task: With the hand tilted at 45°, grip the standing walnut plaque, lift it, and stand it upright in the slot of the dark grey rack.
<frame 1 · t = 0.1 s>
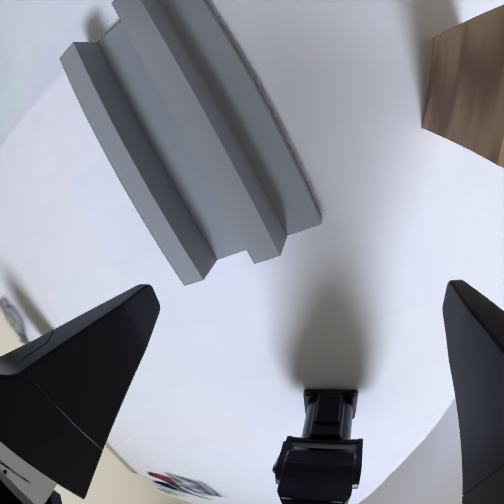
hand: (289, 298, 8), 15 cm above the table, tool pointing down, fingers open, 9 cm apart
rack: (177, 128, 21), on the table
plaque: (445, 87, 15), on the table
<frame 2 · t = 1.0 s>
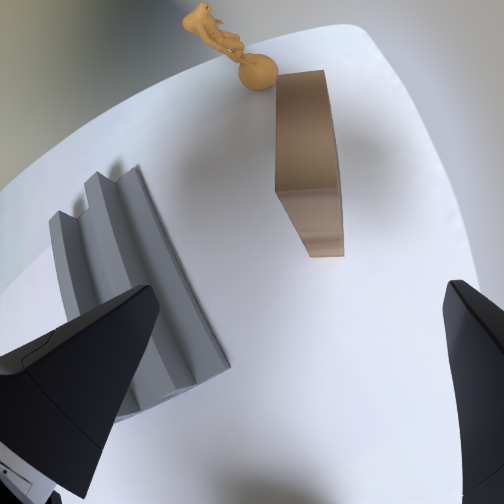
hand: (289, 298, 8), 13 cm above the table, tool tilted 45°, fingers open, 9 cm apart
rack: (119, 293, 27), on the table
plaque: (326, 212, 22), on the table
figurine: (255, 89, 28), on the table
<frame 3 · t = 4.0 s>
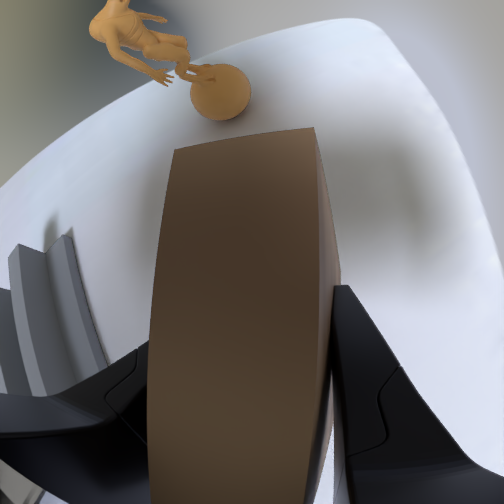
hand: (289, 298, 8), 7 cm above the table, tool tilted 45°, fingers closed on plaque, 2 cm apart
rack: (59, 395, 18), on the table
plaque: (314, 342, 14), on the table, touching gripper
figurine: (219, 117, 20), on the table
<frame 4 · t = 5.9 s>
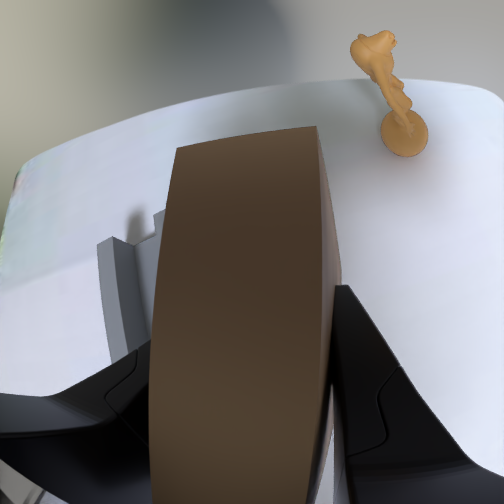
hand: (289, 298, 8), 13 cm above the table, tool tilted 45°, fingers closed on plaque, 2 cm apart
rack: (182, 360, 23), on the table
plaque: (314, 341, 14), point 7 cm above the table, touching gripper
figurine: (390, 148, 22), on the table
when the fingers open (9 cm above the table, at t = 8.0 s): plaque drops 1 cm, resting on rack.
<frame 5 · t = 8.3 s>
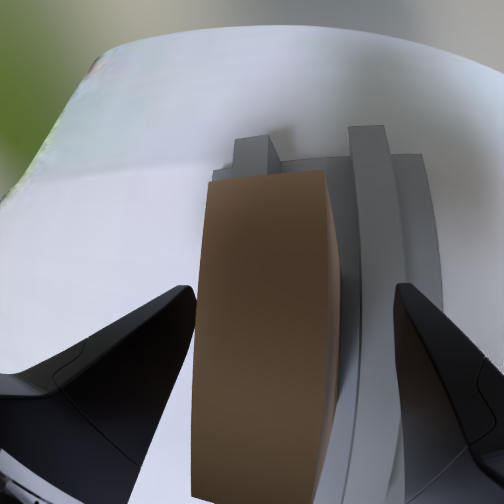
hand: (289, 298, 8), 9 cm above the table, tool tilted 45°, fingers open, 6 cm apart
rack: (318, 341, 16), on the table
plaque: (317, 340, 15), point 1 cm above the table, touching rack
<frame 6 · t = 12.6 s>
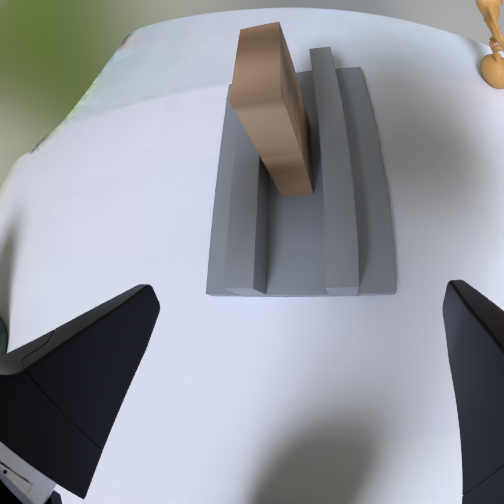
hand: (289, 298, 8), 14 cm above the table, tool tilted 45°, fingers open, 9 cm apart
rack: (298, 164, 25), on the table
coffee jar: (0, 344, 34), on the table
plaque: (296, 157, 24), point 1 cm above the table, touching rack
figurine: (484, 81, 21), on the table
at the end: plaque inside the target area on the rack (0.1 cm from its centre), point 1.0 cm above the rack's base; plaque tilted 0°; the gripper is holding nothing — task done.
